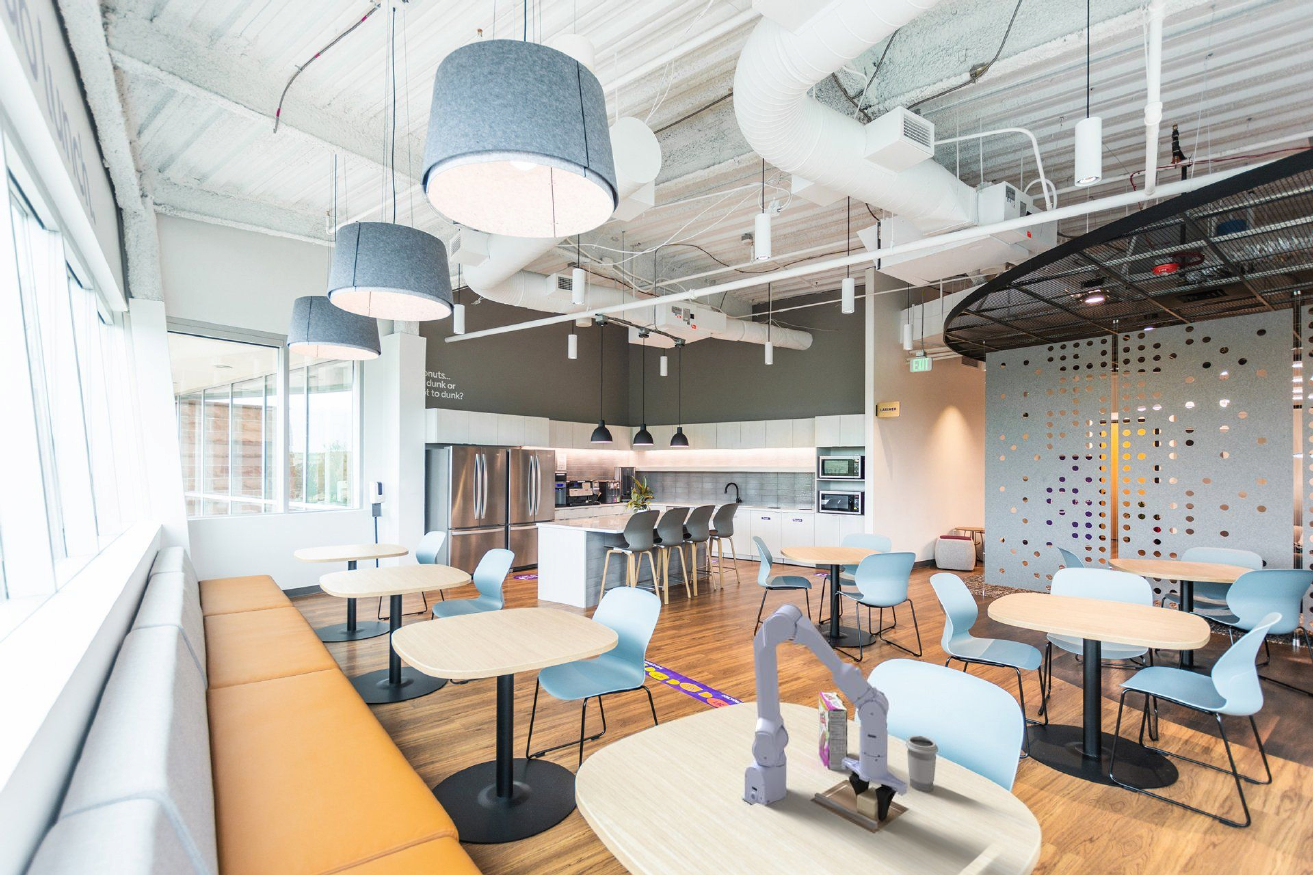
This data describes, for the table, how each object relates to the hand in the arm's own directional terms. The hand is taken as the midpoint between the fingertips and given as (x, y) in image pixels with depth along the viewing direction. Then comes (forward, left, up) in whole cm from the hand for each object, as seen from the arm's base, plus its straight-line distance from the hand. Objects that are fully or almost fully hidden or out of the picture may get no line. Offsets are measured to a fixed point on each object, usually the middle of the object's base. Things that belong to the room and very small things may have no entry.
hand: (872, 813), depth 142 cm
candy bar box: (+15, +20, -2) cm, 25 cm away
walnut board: (+2, +4, -2) cm, 5 cm away
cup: (+20, -1, -2) cm, 20 cm away
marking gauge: (+2, 0, 0) cm, 2 cm away
